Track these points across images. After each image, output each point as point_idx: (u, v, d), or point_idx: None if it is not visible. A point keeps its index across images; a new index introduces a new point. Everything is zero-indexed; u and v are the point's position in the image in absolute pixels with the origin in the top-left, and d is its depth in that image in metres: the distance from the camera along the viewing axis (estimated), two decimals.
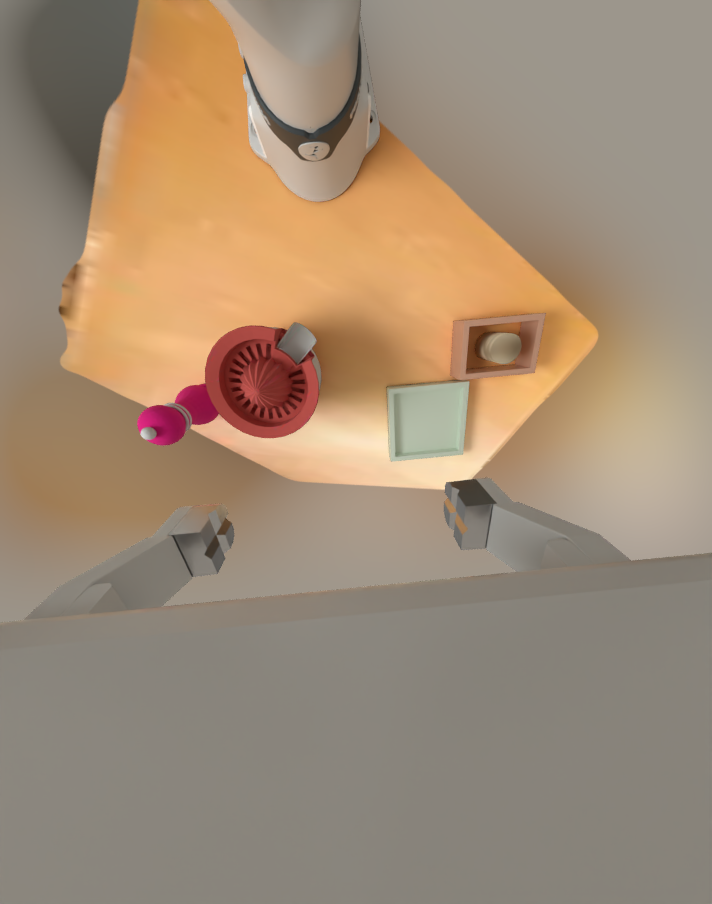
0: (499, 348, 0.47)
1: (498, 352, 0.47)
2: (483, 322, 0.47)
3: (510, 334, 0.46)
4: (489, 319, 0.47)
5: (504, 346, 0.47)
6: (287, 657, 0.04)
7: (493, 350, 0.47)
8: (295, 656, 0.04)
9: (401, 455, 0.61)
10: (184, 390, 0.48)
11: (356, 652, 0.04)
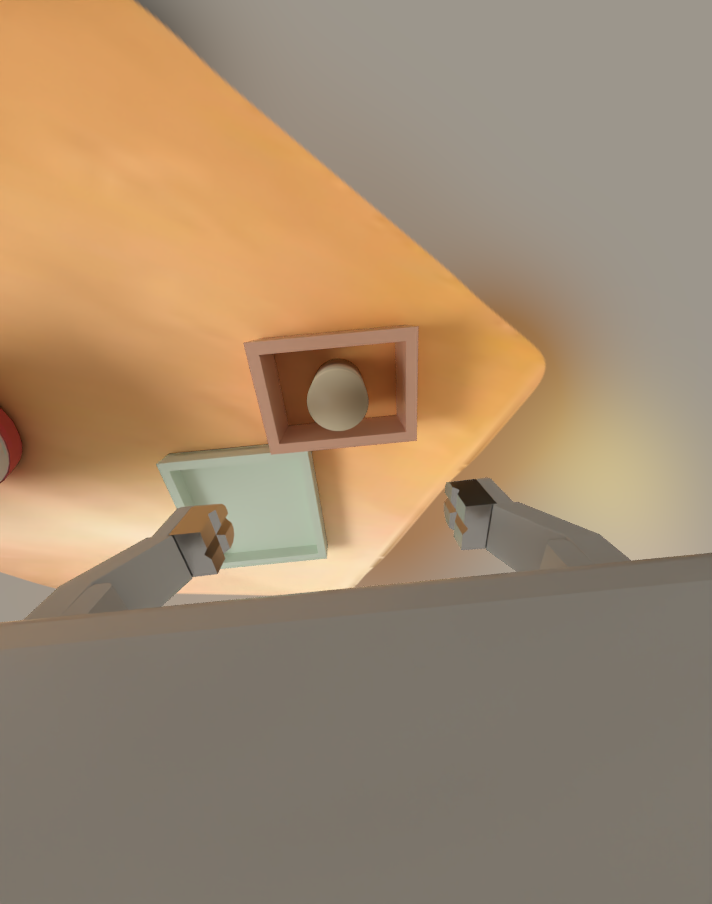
0: (321, 401, 0.22)
1: (321, 409, 0.22)
2: (286, 345, 0.22)
3: (338, 373, 0.21)
4: (298, 340, 0.22)
5: (331, 397, 0.22)
6: (287, 657, 0.04)
7: (309, 405, 0.22)
8: (295, 656, 0.04)
9: None
10: None
11: (356, 652, 0.04)
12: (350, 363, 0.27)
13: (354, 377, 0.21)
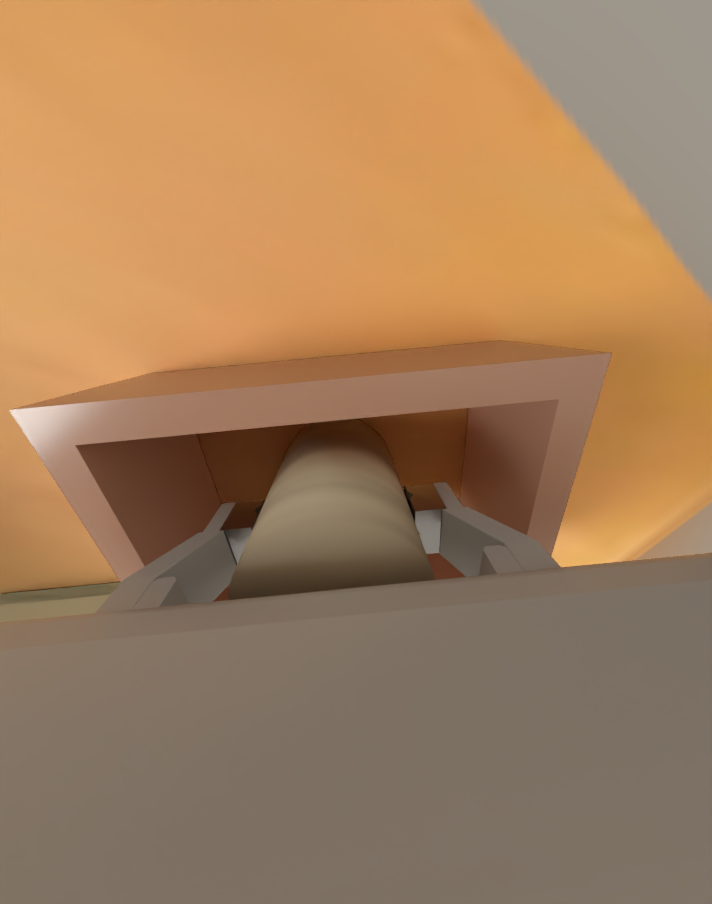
0: None
1: None
2: (161, 417, 0.07)
3: (335, 530, 0.06)
4: (200, 399, 0.06)
5: None
6: (287, 657, 0.04)
7: None
8: (295, 656, 0.04)
9: None
10: None
11: (356, 652, 0.04)
12: (366, 431, 0.11)
13: (394, 538, 0.06)
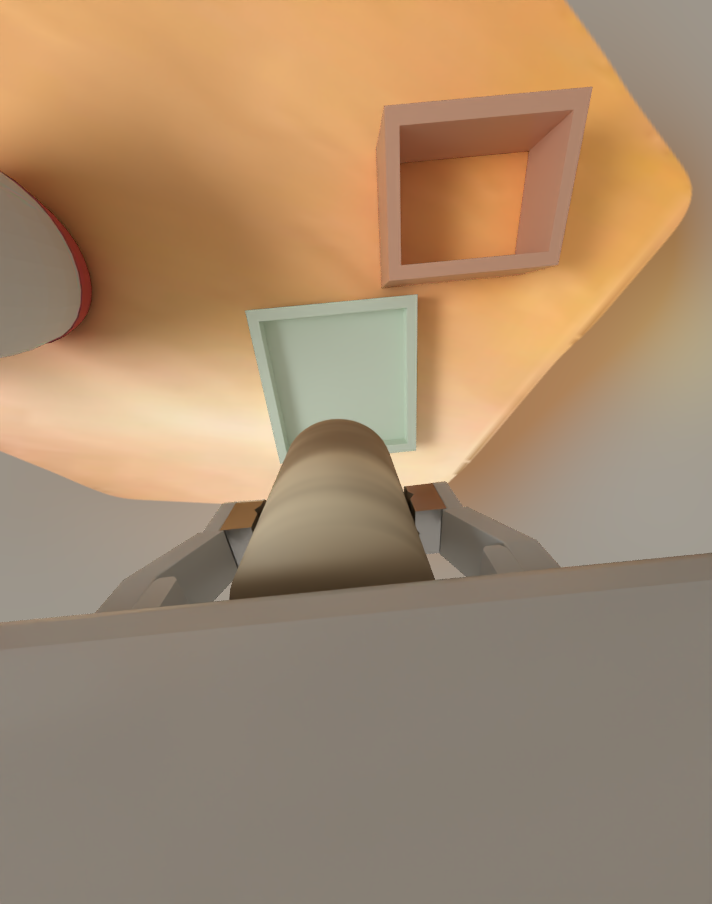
0: None
1: None
2: (433, 112, 0.18)
3: (336, 533, 0.06)
4: (449, 103, 0.18)
5: None
6: (287, 657, 0.04)
7: None
8: (295, 656, 0.04)
9: None
10: None
11: (356, 652, 0.04)
12: (367, 433, 0.11)
13: (395, 542, 0.06)
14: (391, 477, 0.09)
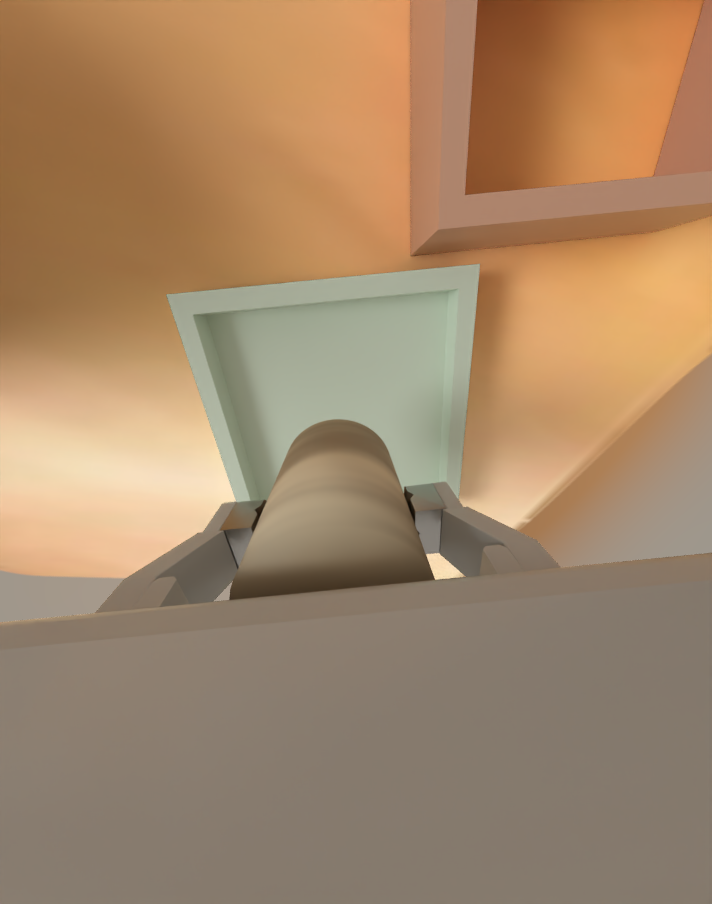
0: None
1: None
2: None
3: (336, 534, 0.06)
4: None
5: None
6: (287, 657, 0.04)
7: None
8: (295, 656, 0.04)
9: None
10: None
11: (356, 652, 0.04)
12: (367, 433, 0.11)
13: (395, 542, 0.06)
14: (391, 478, 0.09)
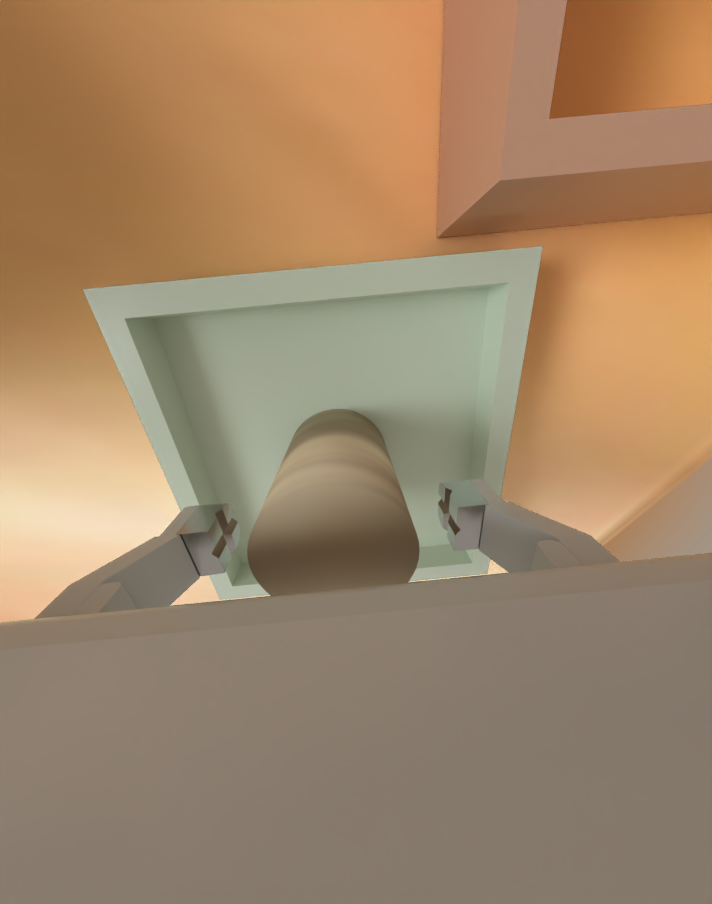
0: (289, 558, 0.08)
1: (290, 574, 0.08)
2: None
3: (335, 493, 0.07)
4: None
5: (316, 549, 0.08)
6: (287, 657, 0.04)
7: (256, 568, 0.08)
8: (295, 656, 0.04)
9: None
10: None
11: (356, 652, 0.04)
12: (363, 421, 0.13)
13: (383, 501, 0.07)
14: (383, 457, 0.10)
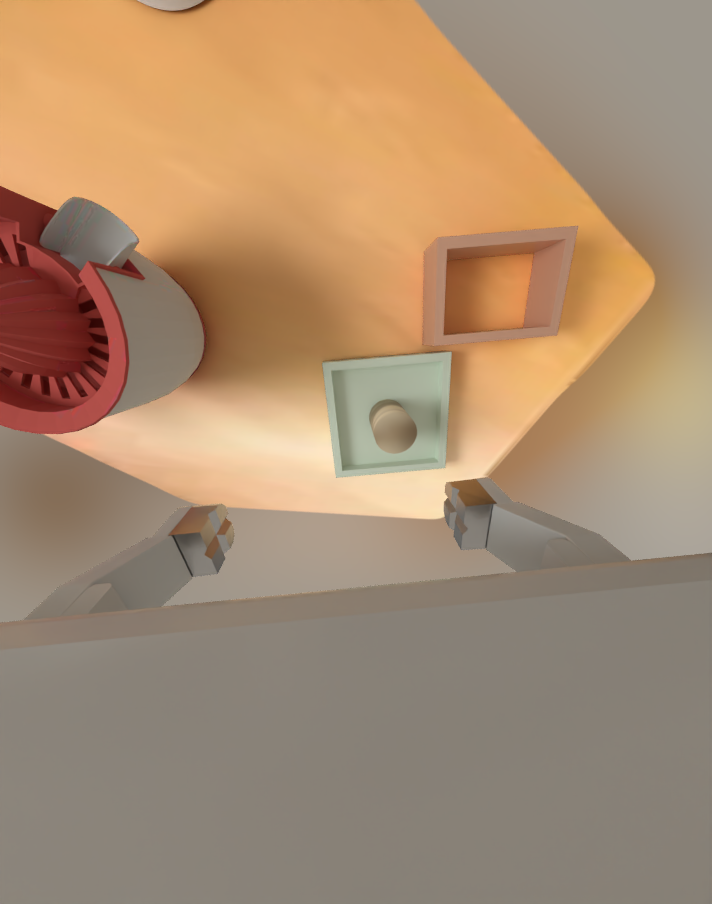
0: (384, 433, 0.32)
1: (384, 438, 0.32)
2: (470, 240, 0.27)
3: (397, 414, 0.31)
4: (481, 235, 0.27)
5: (391, 430, 0.32)
6: (287, 657, 0.04)
7: (375, 436, 0.32)
8: (295, 656, 0.04)
9: (352, 468, 0.40)
10: None
11: (356, 652, 0.04)
12: (398, 403, 0.37)
13: (408, 417, 0.31)
14: (406, 412, 0.34)
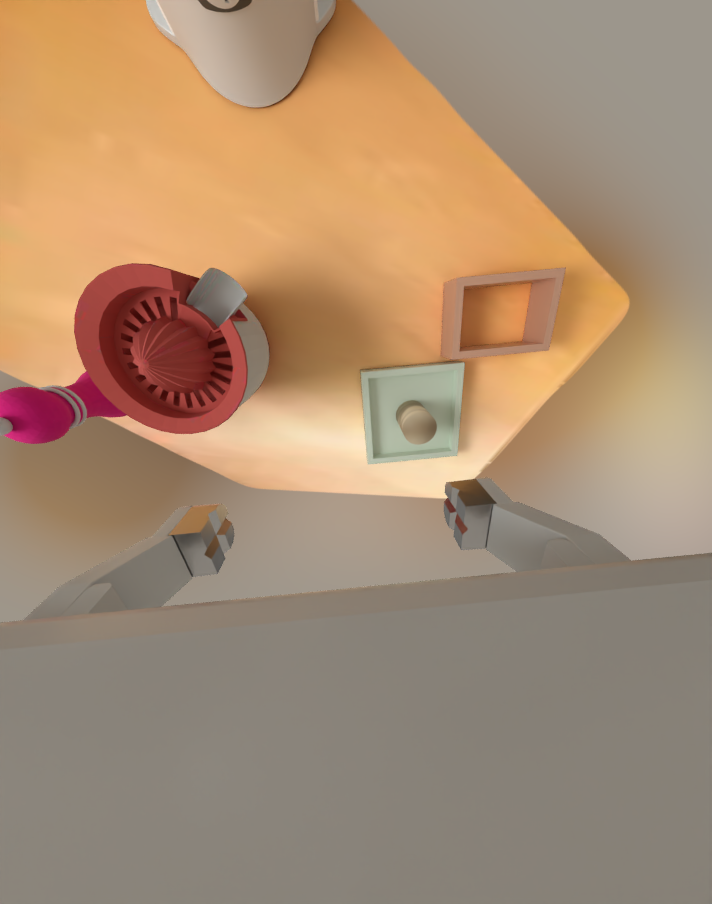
0: (411, 428, 0.40)
1: (410, 432, 0.41)
2: (482, 280, 0.35)
3: (422, 414, 0.40)
4: (490, 276, 0.35)
5: (416, 426, 0.40)
6: (287, 657, 0.04)
7: (404, 430, 0.41)
8: (295, 656, 0.04)
9: (381, 456, 0.49)
10: None
11: (356, 652, 0.04)
12: (420, 403, 0.45)
13: (430, 416, 0.40)
14: None
